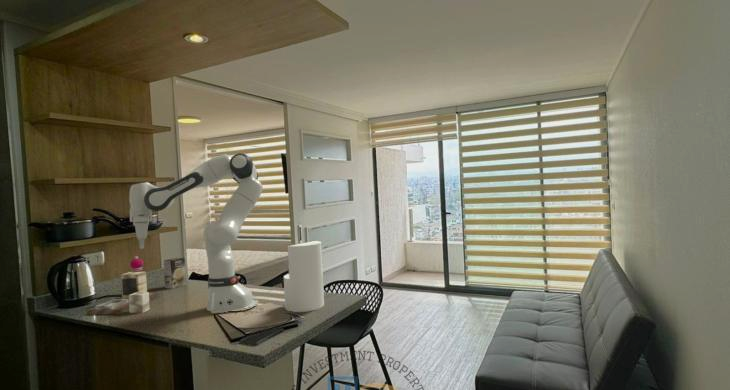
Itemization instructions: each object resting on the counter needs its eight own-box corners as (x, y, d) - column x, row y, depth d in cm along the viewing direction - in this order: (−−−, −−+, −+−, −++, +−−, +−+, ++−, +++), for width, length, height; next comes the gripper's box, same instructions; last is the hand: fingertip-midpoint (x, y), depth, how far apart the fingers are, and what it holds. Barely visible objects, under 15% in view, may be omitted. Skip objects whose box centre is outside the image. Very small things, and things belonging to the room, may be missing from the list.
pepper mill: (138, 294, 206) (136, 257, 206) (127, 294, 208) (125, 257, 208) (148, 290, 213) (146, 254, 213) (137, 290, 215) (135, 255, 215)
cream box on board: (157, 296, 199) (156, 269, 199) (117, 314, 171) (116, 282, 171) (131, 297, 200) (129, 270, 200) (87, 314, 172) (85, 283, 172)
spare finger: (149, 309, 176) (148, 292, 176) (143, 312, 171) (142, 294, 171) (135, 309, 177) (134, 292, 177) (128, 312, 172) (127, 295, 172)
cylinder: (332, 303, 173) (329, 241, 172) (305, 314, 158) (302, 247, 158) (304, 298, 182) (301, 240, 182) (276, 308, 168) (273, 245, 168)
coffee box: (172, 289, 214) (171, 260, 214) (164, 288, 217) (163, 260, 217) (186, 285, 223) (184, 257, 223) (178, 284, 225) (176, 257, 225)
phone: (284, 328, 140) (255, 343, 127) (284, 331, 140) (255, 347, 127) (268, 326, 144) (238, 340, 130) (268, 329, 144) (238, 343, 130)
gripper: (133, 217, 183) (133, 245, 183) (133, 218, 165) (133, 250, 165) (148, 216, 186) (148, 244, 186) (149, 217, 169) (150, 249, 168)
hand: (141, 247), depth 175 cm, fingers open, 8 cm apart
